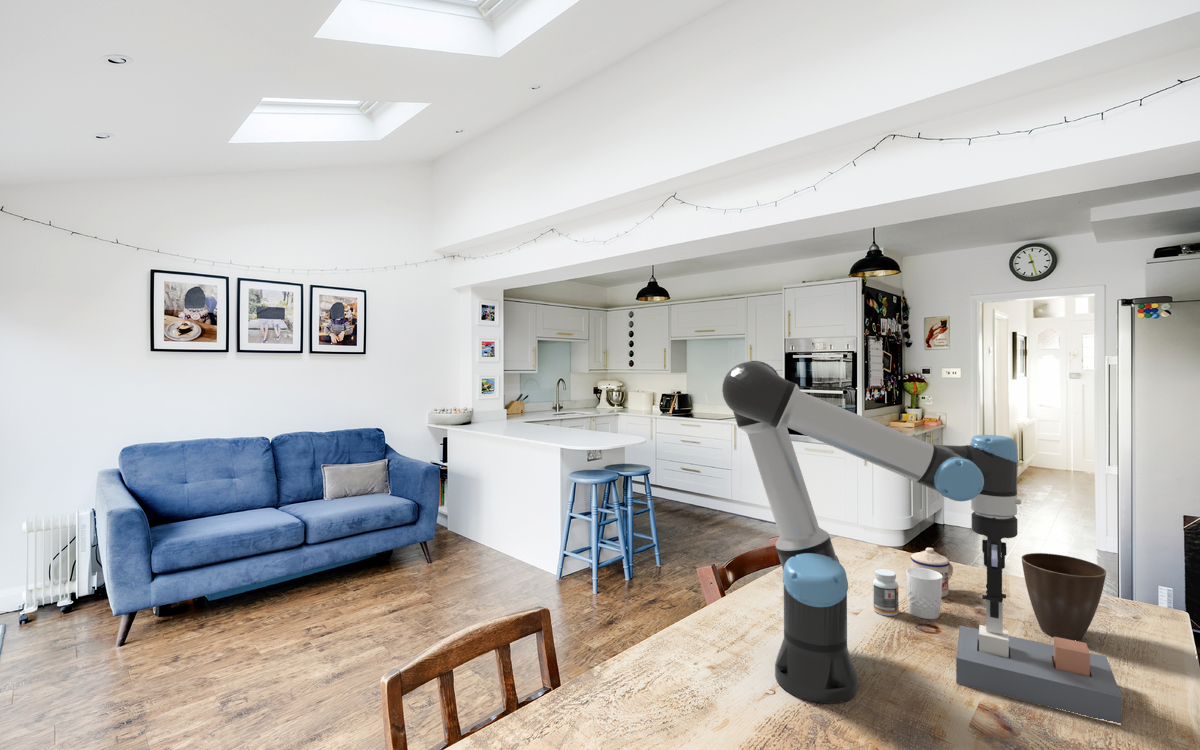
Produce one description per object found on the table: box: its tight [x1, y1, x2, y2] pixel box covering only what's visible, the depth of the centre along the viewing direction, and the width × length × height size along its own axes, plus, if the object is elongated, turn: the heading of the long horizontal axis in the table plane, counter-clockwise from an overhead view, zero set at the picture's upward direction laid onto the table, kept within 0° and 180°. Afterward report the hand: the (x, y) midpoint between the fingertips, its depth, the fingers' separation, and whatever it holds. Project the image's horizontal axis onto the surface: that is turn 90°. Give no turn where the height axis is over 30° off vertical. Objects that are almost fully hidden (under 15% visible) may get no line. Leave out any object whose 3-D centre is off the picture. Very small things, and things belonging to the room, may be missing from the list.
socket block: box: [955, 624, 1123, 724], centre depth 111 cm, size 16×24×5 cm, turn 56°
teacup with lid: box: [910, 547, 954, 598], centre depth 154 cm, size 12×9×12 cm
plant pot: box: [1021, 552, 1107, 641], centre depth 130 cm, size 15×15×16 cm
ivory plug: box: [978, 624, 1009, 658], centre depth 114 cm, size 5×5×6 cm
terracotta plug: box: [1053, 637, 1091, 677], centre depth 107 cm, size 5×5×6 cm
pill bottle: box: [872, 568, 900, 617], centre depth 142 cm, size 6×6×10 cm
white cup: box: [905, 567, 943, 620], centre depth 141 cm, size 8×8×10 cm
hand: (994, 631), depth 114 cm, fingers closed
